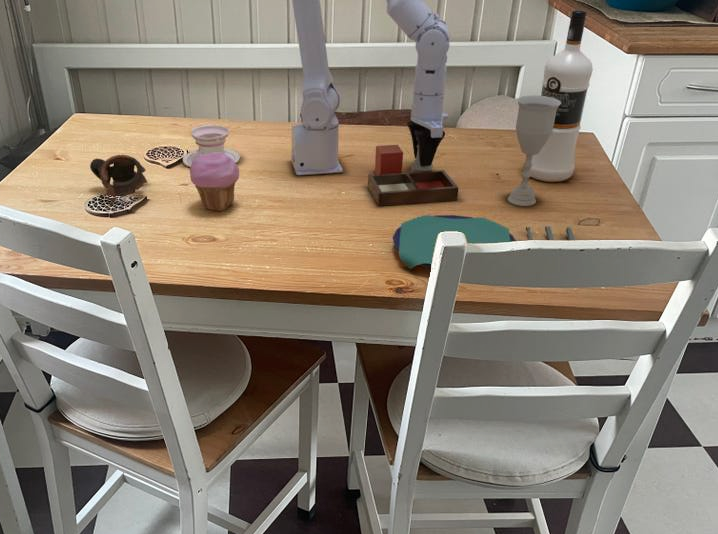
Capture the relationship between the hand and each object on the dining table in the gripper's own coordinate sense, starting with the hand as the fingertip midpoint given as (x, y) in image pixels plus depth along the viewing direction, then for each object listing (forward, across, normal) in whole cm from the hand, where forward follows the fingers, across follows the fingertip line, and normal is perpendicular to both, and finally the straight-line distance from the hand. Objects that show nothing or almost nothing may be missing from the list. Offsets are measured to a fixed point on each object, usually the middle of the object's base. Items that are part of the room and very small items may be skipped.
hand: (422, 162), depth 144 cm
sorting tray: (+2, -10, +5) cm, 11 cm away
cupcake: (+3, -9, +42) cm, 43 cm away
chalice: (+3, -16, -14) cm, 22 cm away
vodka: (+3, -5, -24) cm, 25 cm away
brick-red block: (+2, 0, +7) cm, 7 cm away
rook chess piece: (+3, 0, 0) cm, 3 cm away
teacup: (+3, +15, +42) cm, 44 cm away
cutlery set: (+3, -35, 0) cm, 35 cm away
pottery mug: (+3, +1, +60) cm, 60 cm away
